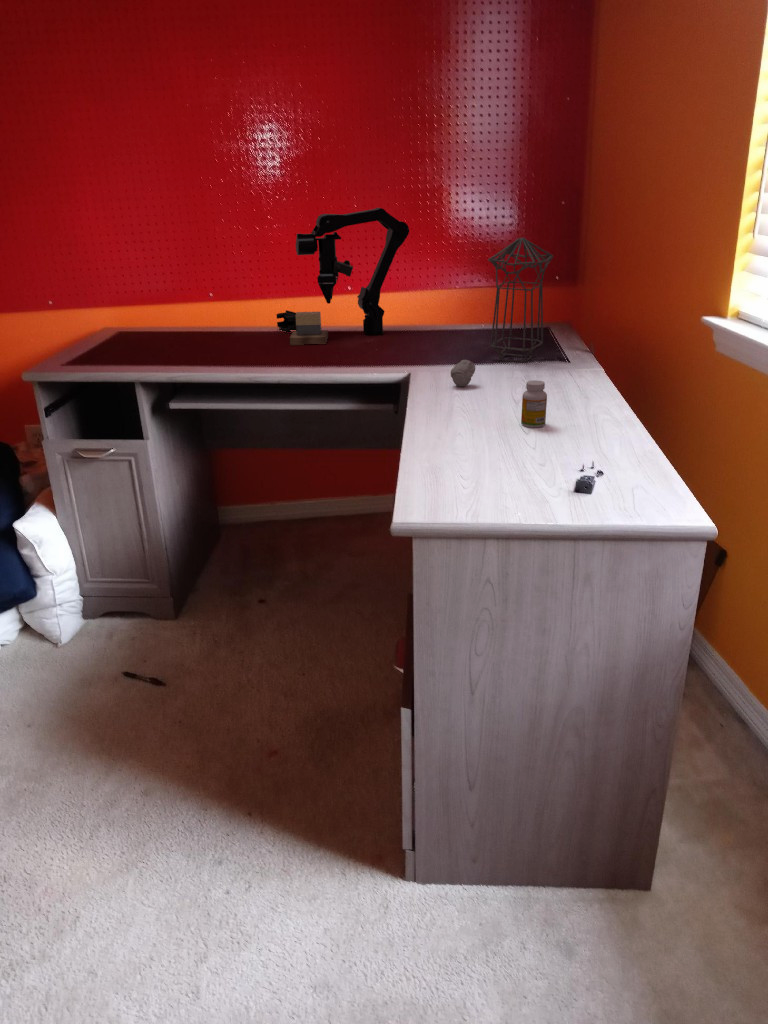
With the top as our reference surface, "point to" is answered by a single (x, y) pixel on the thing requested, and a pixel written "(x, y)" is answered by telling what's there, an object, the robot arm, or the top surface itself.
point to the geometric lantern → (510, 249)
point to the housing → (308, 323)
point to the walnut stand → (309, 338)
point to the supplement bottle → (534, 405)
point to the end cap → (287, 321)
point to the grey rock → (462, 373)
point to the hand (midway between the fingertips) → (329, 301)
